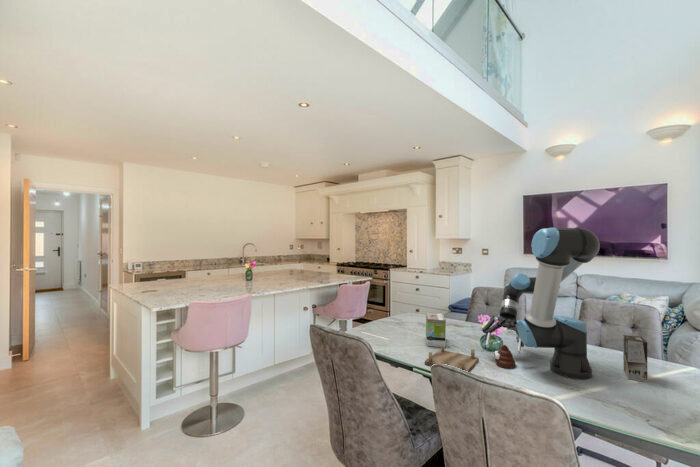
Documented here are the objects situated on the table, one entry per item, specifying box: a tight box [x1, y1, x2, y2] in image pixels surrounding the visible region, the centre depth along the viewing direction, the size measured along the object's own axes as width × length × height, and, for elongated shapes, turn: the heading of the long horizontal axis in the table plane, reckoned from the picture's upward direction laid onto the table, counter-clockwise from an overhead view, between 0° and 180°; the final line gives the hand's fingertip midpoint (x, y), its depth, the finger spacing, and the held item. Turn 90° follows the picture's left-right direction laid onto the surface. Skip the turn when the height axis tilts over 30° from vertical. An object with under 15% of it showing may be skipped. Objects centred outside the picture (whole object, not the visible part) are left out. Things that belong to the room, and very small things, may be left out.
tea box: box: [425, 312, 447, 348], centre depth 178 cm, size 15×10×15 cm, turn 168°
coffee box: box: [622, 334, 648, 383], centre depth 133 cm, size 9×6×16 cm
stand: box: [424, 343, 480, 373], centre depth 149 cm, size 19×19×6 cm
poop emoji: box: [493, 344, 516, 369], centre depth 147 cm, size 10×8×9 cm
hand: (502, 349), depth 148 cm, fingers open, 13 cm apart
